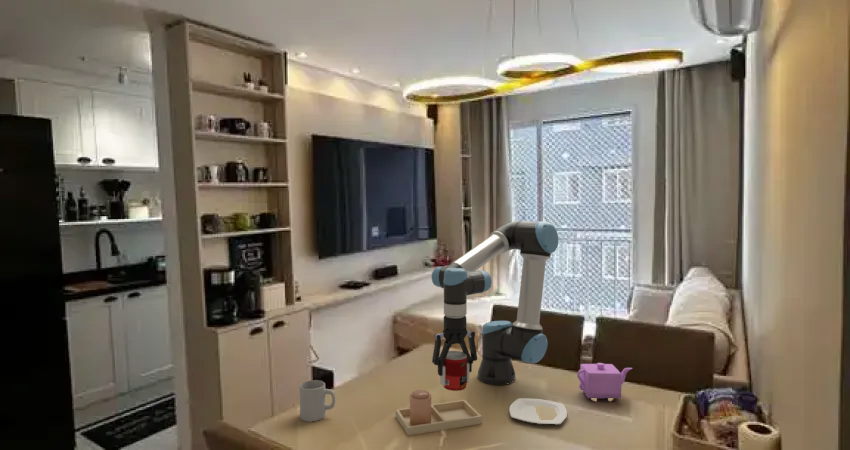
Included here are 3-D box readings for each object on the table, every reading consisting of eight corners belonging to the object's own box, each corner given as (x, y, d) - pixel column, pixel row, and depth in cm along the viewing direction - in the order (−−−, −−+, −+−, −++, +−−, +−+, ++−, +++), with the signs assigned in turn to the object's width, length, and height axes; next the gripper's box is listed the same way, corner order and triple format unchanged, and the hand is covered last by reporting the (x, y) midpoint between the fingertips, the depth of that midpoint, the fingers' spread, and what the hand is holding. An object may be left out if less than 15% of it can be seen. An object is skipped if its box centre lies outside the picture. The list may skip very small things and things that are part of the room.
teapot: (580, 402, 181) (581, 368, 180) (573, 391, 191) (573, 358, 190) (637, 403, 180) (637, 368, 180) (626, 392, 190) (627, 359, 190)
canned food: (465, 392, 163) (465, 358, 162) (440, 390, 164) (440, 357, 164) (468, 383, 170) (468, 351, 169) (444, 381, 172) (444, 349, 171)
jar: (427, 416, 168) (427, 388, 168) (434, 425, 162) (434, 395, 161) (407, 419, 166) (407, 390, 166) (413, 429, 160) (413, 398, 159)
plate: (568, 408, 177) (569, 402, 177) (565, 432, 159) (565, 426, 159) (514, 400, 183) (514, 395, 183) (504, 423, 165) (504, 417, 165)
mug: (296, 421, 166) (295, 389, 166) (304, 410, 175) (304, 379, 174) (332, 422, 166) (331, 390, 165) (338, 411, 174) (338, 380, 173)
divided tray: (464, 407, 177) (464, 399, 176) (481, 425, 163) (481, 416, 163) (395, 418, 169) (395, 409, 168) (407, 437, 155) (407, 428, 155)
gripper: (478, 310, 173) (478, 375, 174) (421, 315, 166) (421, 382, 167) (488, 315, 165) (487, 383, 167) (429, 320, 159) (429, 391, 160)
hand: (454, 383), depth 167 cm, fingers closed on canned food, 8 cm apart
